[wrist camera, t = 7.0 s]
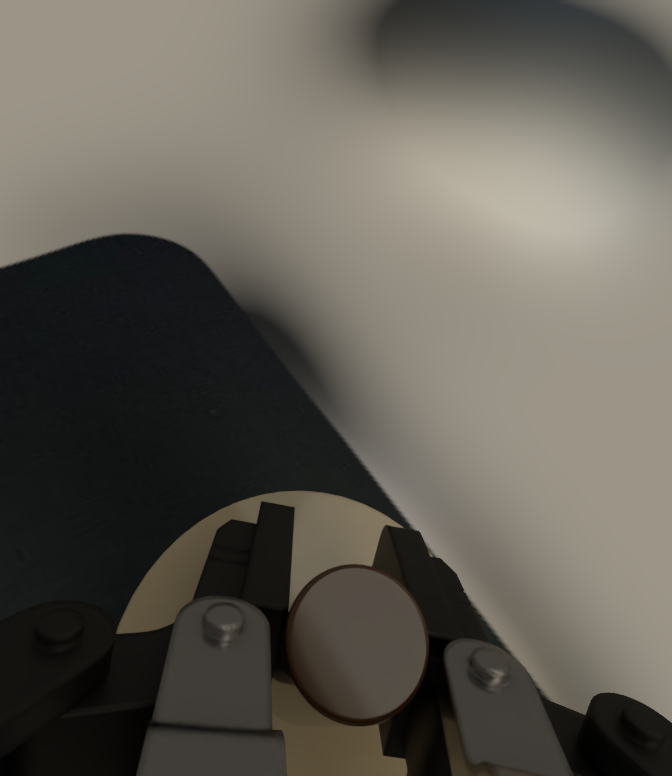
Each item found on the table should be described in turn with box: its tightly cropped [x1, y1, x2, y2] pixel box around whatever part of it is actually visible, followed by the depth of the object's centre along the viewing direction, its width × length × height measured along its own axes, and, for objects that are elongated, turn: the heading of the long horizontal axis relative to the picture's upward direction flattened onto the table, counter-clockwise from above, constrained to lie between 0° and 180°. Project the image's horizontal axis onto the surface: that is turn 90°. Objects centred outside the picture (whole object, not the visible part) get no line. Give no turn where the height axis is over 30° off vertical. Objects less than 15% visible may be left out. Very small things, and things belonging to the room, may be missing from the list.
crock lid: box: [116, 491, 433, 776], centre depth 10 cm, size 8×8×6 cm
